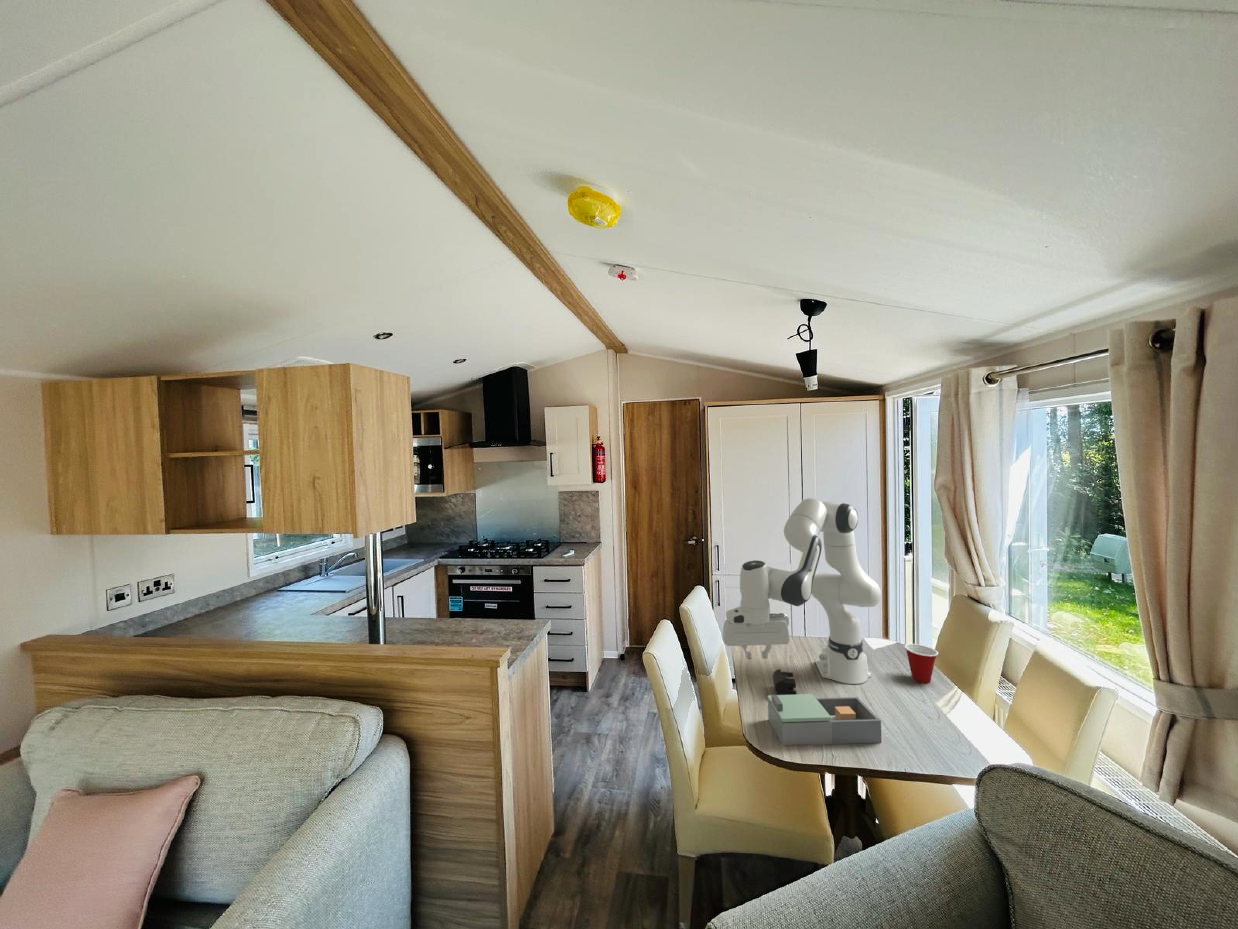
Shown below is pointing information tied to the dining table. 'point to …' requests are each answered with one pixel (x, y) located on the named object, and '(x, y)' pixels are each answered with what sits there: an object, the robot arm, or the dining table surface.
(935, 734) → the dining table surface
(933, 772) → the dining table surface
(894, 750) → the dining table surface
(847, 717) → the jaw block
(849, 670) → the robot arm
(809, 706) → the lid
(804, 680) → the dining table surface
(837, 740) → the box
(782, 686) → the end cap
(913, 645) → the plastic cup
